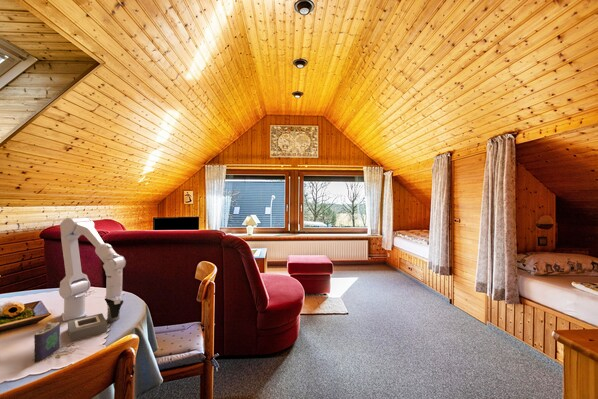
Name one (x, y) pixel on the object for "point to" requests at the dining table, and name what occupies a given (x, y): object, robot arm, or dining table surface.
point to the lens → (111, 317)
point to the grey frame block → (86, 327)
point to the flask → (47, 341)
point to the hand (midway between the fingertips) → (113, 315)
